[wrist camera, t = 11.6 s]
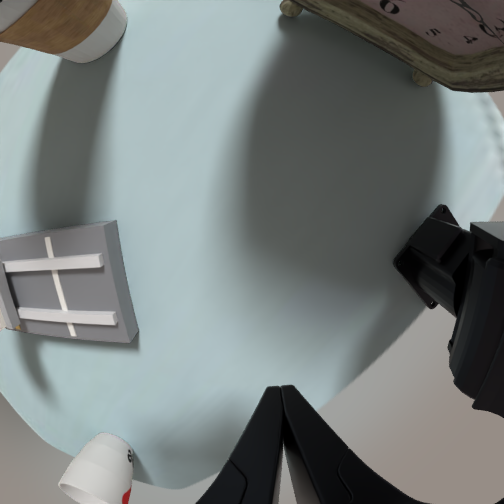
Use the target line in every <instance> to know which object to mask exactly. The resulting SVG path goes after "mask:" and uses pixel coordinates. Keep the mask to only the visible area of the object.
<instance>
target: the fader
mask: <svg viewBox="0 0 504 504" xmlns="http://www.w3.org/2000/svg"><path fill="white" fill-rule="evenodd" d="M19 324H20V320H19V318H18V315H17V312H16V309H15V306H14V303H13V300H12V297H11V293H10V290H9V287H8V283H7V279H6V276H5V272H4V268H3V264H2V260H0V331H1V330H3V329H4V328H8V329H14V328H15V327H17V326H18V325H19Z"/></svg>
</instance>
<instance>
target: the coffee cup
mask: <svg viewBox="0 0 504 504" xmlns="http://www.w3.org/2000/svg"><path fill="white" fill-rule="evenodd" d="M126 25H127V15H126V12H125V10H124V9H123V7H122V6H121V4H120V3H119V1H118V0H0V42H4V43H9V44H14V45H18V46H22V47H26V48H30V49H34V50H38V51H41V52H45V53H48V54H53V55H56V56H59V57H62V58H65V59H67V60H70V61H73V62H77V63H87V62H91V61H93V60H96V59H98V58H100V57H101V56H103V55H104V54H106V53H107V52H108V51H109V50H110V49H112V48H113V47H114V46H115V44H116V43H117V42H118V41H119V39H120V38H121V36H122V35H123V33H124V31H125V28H126Z"/></svg>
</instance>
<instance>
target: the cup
mask: <svg viewBox="0 0 504 504" xmlns="http://www.w3.org/2000/svg"><path fill="white" fill-rule="evenodd" d="M133 469H134V466H133V449H132V448H131V446H130V445H129V444H128V443H127V442H125V441H124V440H122V439H121V438H119V437H117V436H115V435H112V434H109V433H104V432H102V433H99V434H98V435H96V436H95V437H94V438H93V439H92V440H90V441H89V442H88V443H87V444H86V445H85V446H84V447H83V448H82V450H81V451H80V452H79V453H78V454H77V456H76V457H75V458H74V459H73V460H72V462H71V463H70V465H69V467H68V468H67V470H66V472H65V473H64V475H63V476H62V478H61V480H60V481H59V483H58V485H59V487H60V488H61V489H62V490H63V491H64V492H65V493H66V494H67V495H68V496H70V497H71V498H72V499H74V500H75V501H77V502H79V503H80V504H128V501H129V497H130V492H131V486H132V485H131V484H132V477H133Z"/></svg>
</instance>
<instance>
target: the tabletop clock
mask: <svg viewBox="0 0 504 504" xmlns="http://www.w3.org/2000/svg"><path fill="white" fill-rule="evenodd" d="M303 9H305V10H307V11H309V12H311V13H314V14H316V15H318V16H320V17H322V18H324V19H326V20H328V21H330V22H332V23H334V24H336V25H338V26H340V27H342V28H344V29H346V30H347V31H349V32H351V33H353V34H355V35H356V36H358V37H360V38H362V39H363V40H365V41H367V42H369V43H371V44H373V45H374V46H376V47H378V48H380V49H382V50H384V51H385V52H387V53H389V54H391V55H392V56H394V57H396V58H398V59H399V60H401V61H402V62H404V63H406V64H407V65H409V66H410V67H412V68H414V71H413V80H414V81H415V83H416V84H417V85H419V86H422V87H426V86H429V85H430V84H431V83H432V80H433V81H435V82H437V83H439V84H441V85H443V86H445V87H447V88H449V89H450V90H452V91H461V92H470V93H473V92H495V91H503V90H504V0H283V1H282V2H281V4H280V10H281V11H282V13H283V14H284V15H286V16H289V17H294V16H298V15H300V13H301V12H302V10H303Z"/></svg>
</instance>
